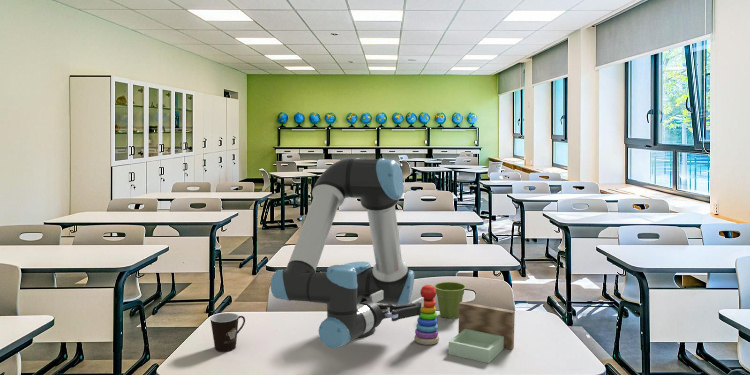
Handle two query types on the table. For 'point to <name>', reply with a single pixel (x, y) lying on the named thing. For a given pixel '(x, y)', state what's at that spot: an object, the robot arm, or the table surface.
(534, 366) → the table surface
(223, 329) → the coffee mug
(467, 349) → the mint green square tray
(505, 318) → the backstop wall
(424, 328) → the stacking toy
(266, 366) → the table surface
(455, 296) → the plant pot
